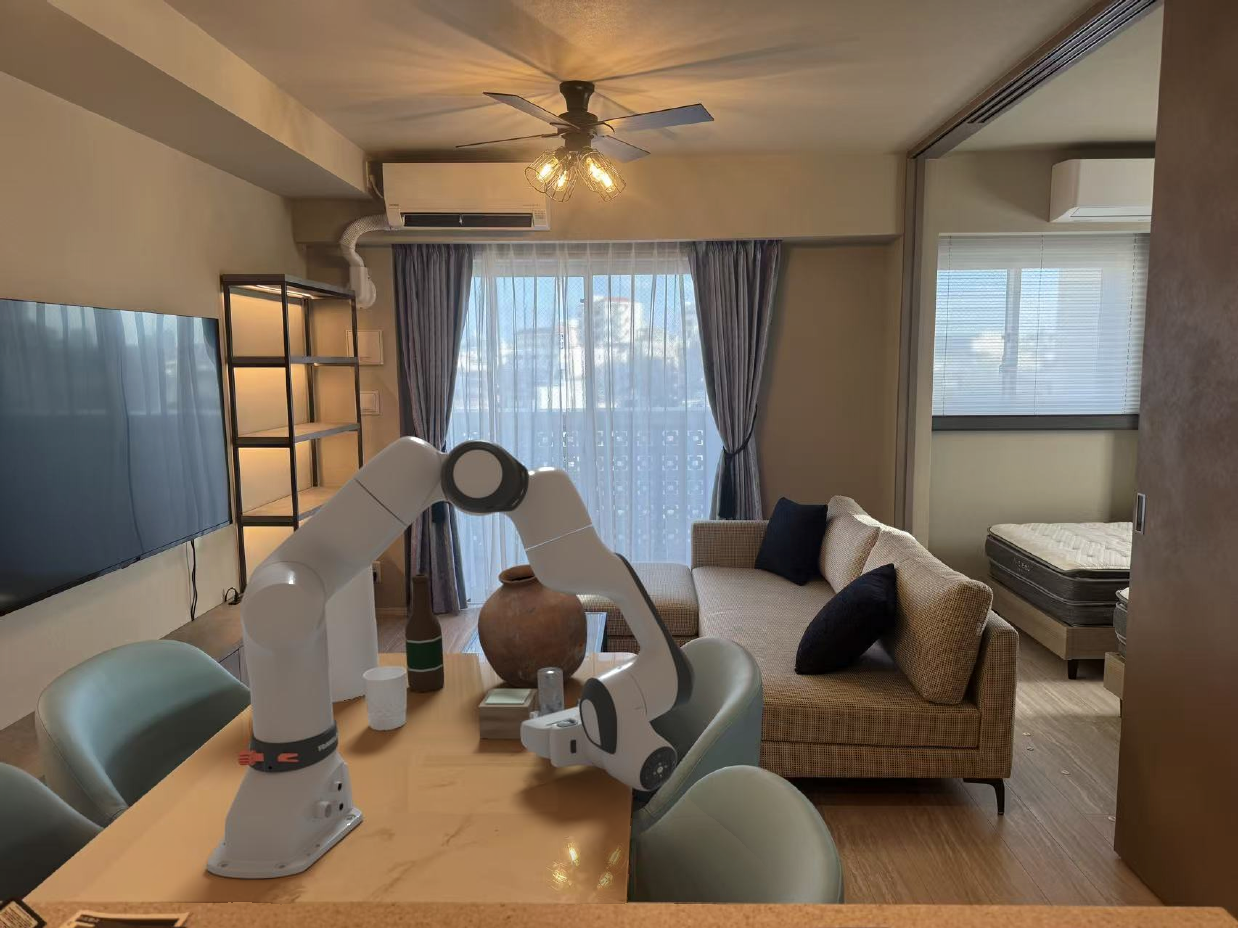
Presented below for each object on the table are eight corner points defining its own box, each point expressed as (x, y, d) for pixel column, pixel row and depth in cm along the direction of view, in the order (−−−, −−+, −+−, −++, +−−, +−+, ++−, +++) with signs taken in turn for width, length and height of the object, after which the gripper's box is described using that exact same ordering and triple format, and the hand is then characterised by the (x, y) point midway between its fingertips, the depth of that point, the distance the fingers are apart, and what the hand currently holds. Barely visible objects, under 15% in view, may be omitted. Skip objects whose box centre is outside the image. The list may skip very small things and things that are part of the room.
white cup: (415, 716, 169) (412, 665, 168) (400, 732, 161) (397, 679, 160) (375, 715, 170) (372, 665, 168) (359, 732, 162) (356, 679, 161)
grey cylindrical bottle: (563, 748, 151) (560, 675, 150) (537, 748, 152) (534, 675, 151) (567, 737, 156) (565, 667, 155) (542, 737, 156) (539, 667, 155)
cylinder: (373, 699, 178) (364, 564, 175) (285, 706, 176) (275, 569, 173) (385, 671, 195) (377, 548, 193) (305, 677, 193) (296, 552, 191)
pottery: (597, 666, 194) (593, 555, 192) (577, 704, 172) (572, 580, 169) (498, 664, 198) (493, 555, 195) (465, 702, 175) (459, 579, 172)
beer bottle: (440, 692, 181) (434, 578, 179) (403, 693, 181) (396, 579, 179) (448, 679, 189) (442, 570, 186) (412, 680, 189) (406, 571, 186)
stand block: (529, 739, 156) (527, 705, 155) (480, 738, 157) (478, 704, 156) (538, 719, 165) (537, 687, 164) (492, 719, 166) (490, 686, 165)
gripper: (652, 700, 145) (606, 678, 157) (545, 731, 134) (504, 705, 145) (653, 737, 146) (607, 712, 157) (546, 770, 135) (505, 741, 146)
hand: (557, 709), depth 151 cm, fingers open, 8 cm apart
